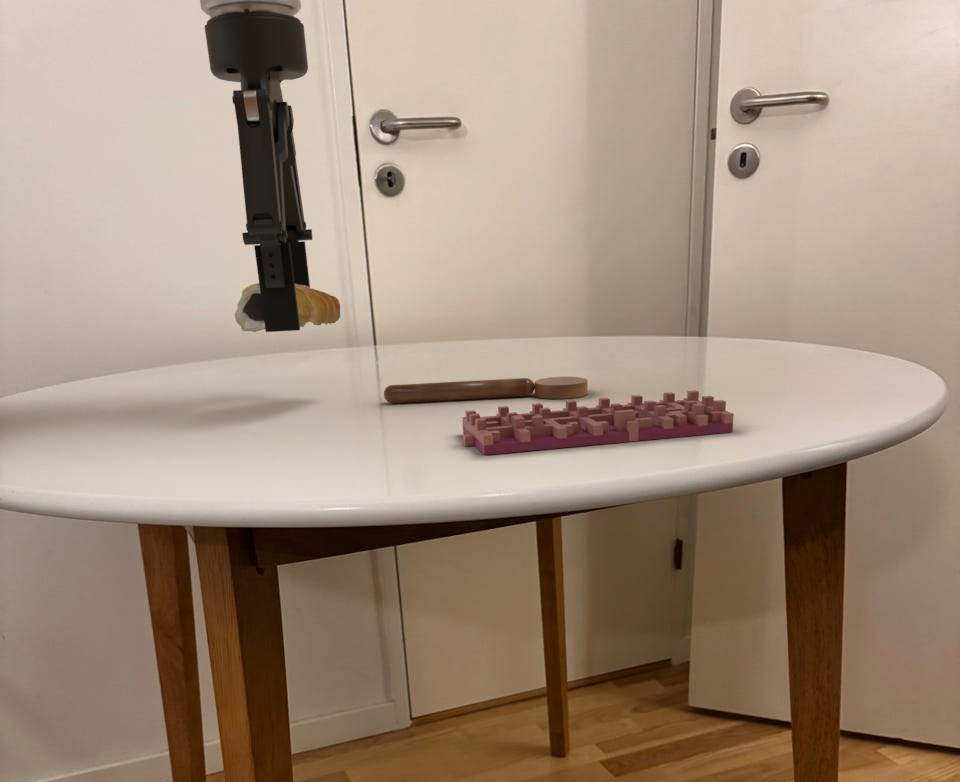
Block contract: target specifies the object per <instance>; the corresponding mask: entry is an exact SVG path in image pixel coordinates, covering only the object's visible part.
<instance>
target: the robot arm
mask: <svg viewBox="0 0 960 782" xmlns="http://www.w3.org/2000/svg"><path fill="white" fill-rule="evenodd" d="M199 4H200V10H202V12H203V13H204V14H205V15H207V16H209V17H210V18H209V19H207V21H206V24H205V25H204V33H205V40H206V48H207V54H208V55H207V56H208V62H209V68H210V72H211V74H212V75H213V77H215V78H217V79H219V80H221V81H225V82H234V83H240V89H239V90H238V89H237V90H235V89H234V90H233V91H232V97H231V99H232V104H233V105H234V110H235V117H236V125H237V135H238V145H239V156H240V164H241V165H240V166H241V174H242V175H241V177H242V185H243V197H244V206H245V216H246V217H245V218H246V219H245V220H246V223H245V228H246V232H242V233H241V234H242V240H243V241H242V242H243V244H244V246H251V245H253V247H254V252H255V254H254V255H255V262H256V268H257V276H258V283H259V285H260V293H261V300H262V308H263V315H264V323H265V329H264V330H265V333H274V332H293V331H294V332H295V331H300V330H301V327H300V324H299V315H298V307H297V298H296V290H295V283H296V284H298V285H305V286H308V287H310V288H311V283H310V274H309V267H308V266H309V265H308V257H307V248H306V247H307V246H306V241H313V229H309V228H308V229H307V222H306V221H305V214H304V209H303V199H302V193H301V185H300V180H299V179H300V178H299V172H298V164H297V158H296V157H297V150H296V143H295V138H294V132H293V129H294V123H295V119H294V114H293V108H292V105H291V104H288V102H287V101H284V98H283V91H282V88H281V83H282V82H283V81H293V80H296V79H297V80H298V79H300V78H302V77H304V76H305V75H306V74H308V73H307V72H308V70H309V62H308V54H307V53H308V52H307V43H306V34H305V26H304V23H302V21H301V19H300V18H298V17H296V16H295V15H297V14H298V13H299V12H300V10H301V9H302V2H301V0H199Z"/></svg>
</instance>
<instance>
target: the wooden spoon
mask: <svg viewBox="0 0 960 782" xmlns="http://www.w3.org/2000/svg"><path fill="white" fill-rule="evenodd" d="M532 394H534V396H535V397H536V398H540V399H547V400H548V399H549V400H566V399H568V400H569V399H577V398H581V397H585V396H587V395H588V394H589V381H588V379H587V378H585V377H578V376H552V377H543V378H538V379H536V380H535V381H533V380H532V379H531V378H529V377H520V378H517V377H516V378H500V379H499V378H497V379H481V380H480V379H478V380H462V381H459V380H458V381H442V382H422V383H421V382H420V383H406V384H405V383H404V384H403V383H402V384H390V385H388V386H386V387H385V388H384V391H383V397H384V400H385V401H386V402H387V403H389V404H407V403H408V404H409V403H426V402H444V401H445V402H446V401H461V400H462V401H464V400H466V401H467V400H481V399H482V400H483V399H486V400H487V399H504V398H521V397H522V398H524V397H529V396H531V395H532Z"/></svg>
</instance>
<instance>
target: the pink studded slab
mask: <svg viewBox="0 0 960 782" xmlns="http://www.w3.org/2000/svg"><path fill="white" fill-rule="evenodd" d="M686 392H687V393H686V397H683V399H678V400H677V399H676V393H674V392H671V391H670V392H663V398H662V399H660V400H659V401H655V400H643V398H644V397H643V395H641V394H635V395H631V396H630V402H627V404H621V403H611V399H610V398H608V397H599V398H598V404H597V405H595V407H588V406H585V405H584V406H578V405H577V403H578V402H577V401H576V400H565V407H563V408H562V409H561V410H559V409H558V410H551V408H549V407H544V403H541V402H540V403H532V404H531V411H529V412H525V413H518V412H516V411H512V412H510V407H509V406H507V405H502V406H498V407H497V413H496V414H495V415H490V416H489V415H488V416H481V414H479V413H477V411H476V410H465V411H464V412H465V416H462V417H461V418H462V420H461V421H462V442H463V443H462V444H463V445H464V446H465V447H470V446H474V447H475V448H476V449H478V451H479V452H481V453H482V454H483V455H484V456H489V455H498V454H510V453H522V452H531V451H543V450H552V449H565V448H575V447H586V446H587V447H588V446H594V445H595V446H596V445H598V446H599V445H607V444H618V443H630V442H641V441H651V440H652V441H653V440H661V439H663V440H664V439H671V438H673V439H674V438H684V437H694V436H695V437H696V436H706V435H716V434H726V433H727V434H728V433H733V429H734V417H735V416H734V413H733V412H731V411H728V410H726V407H727V401H726V400H723V399H718V400H717V399H716V400H715V397H714V396H712V395H702V396H701V400H699V399H700V398H699V397H700V391H698V390H687V391H686ZM675 399H676V400H675Z"/></svg>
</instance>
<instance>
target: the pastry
mask: <svg viewBox="0 0 960 782" xmlns="http://www.w3.org/2000/svg"><path fill="white" fill-rule="evenodd" d="M295 290H296V298H297V307H298V315H299V324H300V328H304V327H305V326H306V324H307V323H312V324H313V325H314V326H322V324H325V326H327V325H328V324H329V325H331V324H336V322H338V321H339V320H340V319H341V303H340V301H339V298H337V297H336V296H334V295H331V294H329V293H326V292H325V291H321V290H318V289H314V288H311V286H310V287H308V286H305V285H298V284H296V283H295ZM236 306H237V307H236V311H235V312H234V319H235V322H236V323H237V325H239V327H240V328H241V331H242V332H244V333H245V332H253V333H257V332H259V331H263V330H265V323H264V315H263V308H262V300H261V293H260V285H259V282H257V283H253V284H250V285H248V286H246V287H245V288H244V289H242V291H241V297H240V299H239V300H238V302H237V305H236Z"/></svg>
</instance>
